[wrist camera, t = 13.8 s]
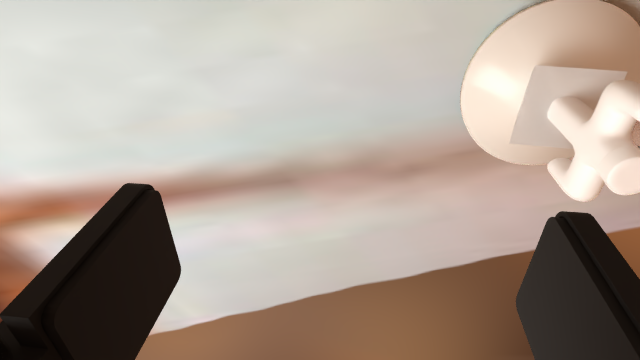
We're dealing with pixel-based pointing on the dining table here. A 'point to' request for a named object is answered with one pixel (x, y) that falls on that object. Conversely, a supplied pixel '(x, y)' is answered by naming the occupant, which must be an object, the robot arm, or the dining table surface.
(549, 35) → the plate
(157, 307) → the robot arm
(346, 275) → the dining table surface
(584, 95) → the figurine
